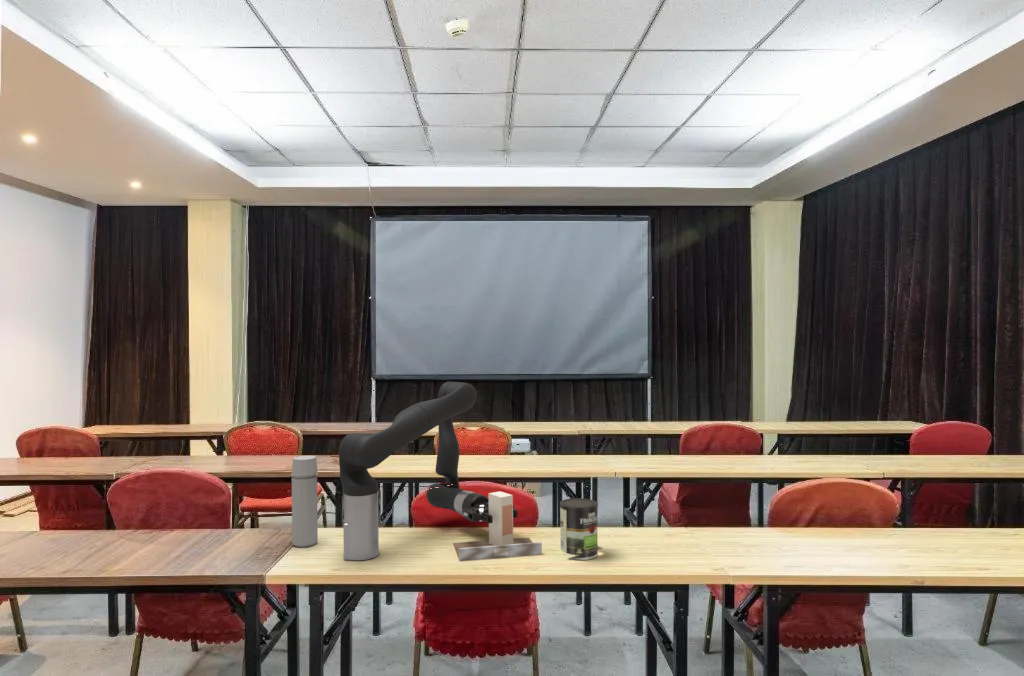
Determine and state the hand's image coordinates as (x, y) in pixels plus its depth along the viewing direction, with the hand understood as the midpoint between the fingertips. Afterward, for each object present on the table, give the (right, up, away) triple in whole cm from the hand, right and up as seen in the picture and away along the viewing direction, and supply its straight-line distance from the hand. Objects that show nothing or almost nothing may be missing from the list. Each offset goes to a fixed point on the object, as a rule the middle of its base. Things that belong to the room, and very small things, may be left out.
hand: (504, 516), depth 181 cm
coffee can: (+20, -10, -3) cm, 23 cm away
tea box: (-1, -8, +1) cm, 8 cm away
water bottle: (-58, -10, +9) cm, 59 cm away
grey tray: (-2, -10, -2) cm, 10 cm away
